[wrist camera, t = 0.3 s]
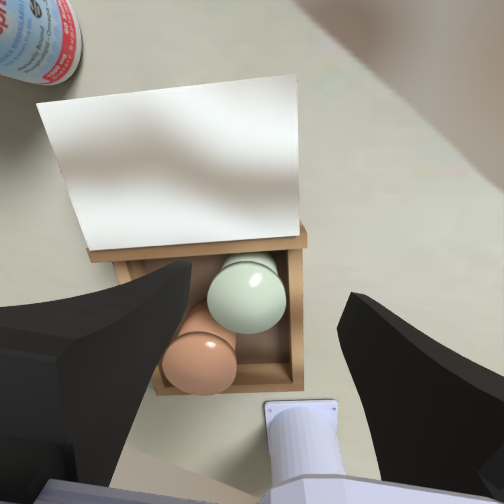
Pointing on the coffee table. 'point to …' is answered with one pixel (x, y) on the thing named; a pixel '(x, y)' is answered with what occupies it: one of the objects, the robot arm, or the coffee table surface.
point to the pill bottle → (39, 40)
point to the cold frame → (193, 197)
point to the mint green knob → (247, 293)
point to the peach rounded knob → (201, 354)
